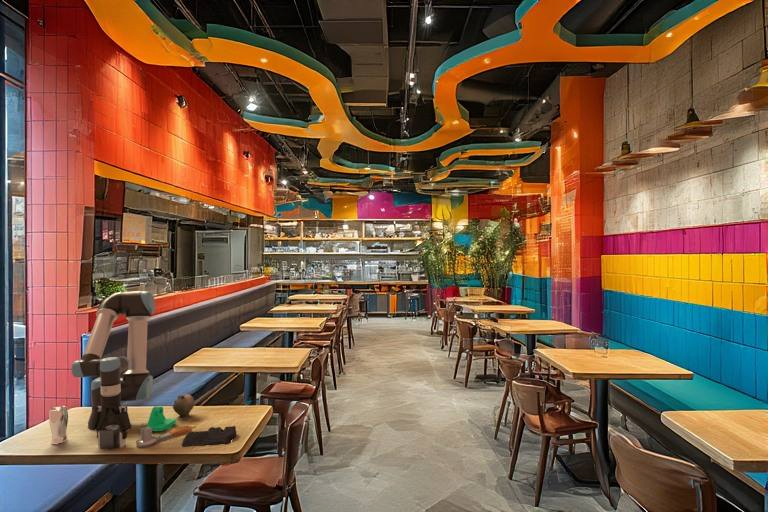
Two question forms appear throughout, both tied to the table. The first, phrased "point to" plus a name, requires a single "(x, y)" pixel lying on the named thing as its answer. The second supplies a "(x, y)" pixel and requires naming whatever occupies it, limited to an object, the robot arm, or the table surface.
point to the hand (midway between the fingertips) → (112, 445)
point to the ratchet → (150, 440)
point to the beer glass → (58, 424)
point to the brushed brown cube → (110, 437)
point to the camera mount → (159, 420)
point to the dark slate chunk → (210, 437)
